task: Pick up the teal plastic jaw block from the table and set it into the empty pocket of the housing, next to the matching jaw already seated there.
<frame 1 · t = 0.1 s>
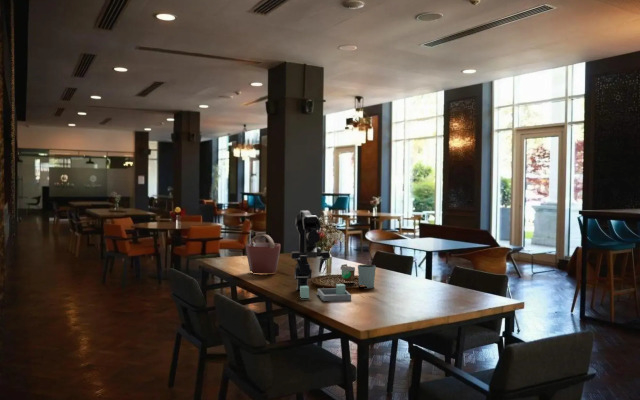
hand: (310, 272, 252), 14 cm above the table, tool pointing down, fingers open, 9 cm apart
jaw block: (304, 298, 259), on the table
housing: (333, 297, 261), on the table
food container: (345, 283, 300), on the table
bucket: (264, 273, 332), on the table
grey green cylinder: (366, 287, 288), on the table
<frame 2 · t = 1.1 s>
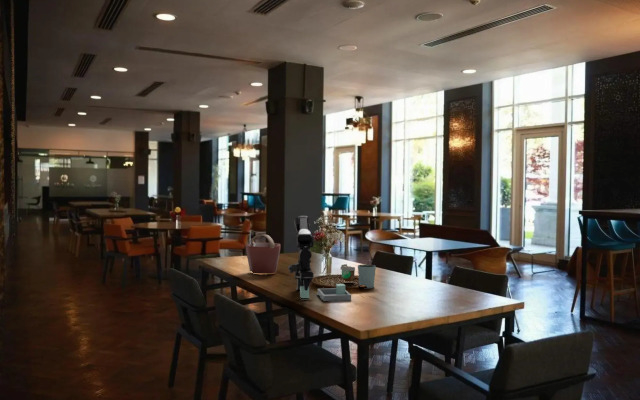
hand: (304, 288, 259), 5 cm above the table, tool pointing down, fingers open, 9 cm apart
nothing on the table moved.
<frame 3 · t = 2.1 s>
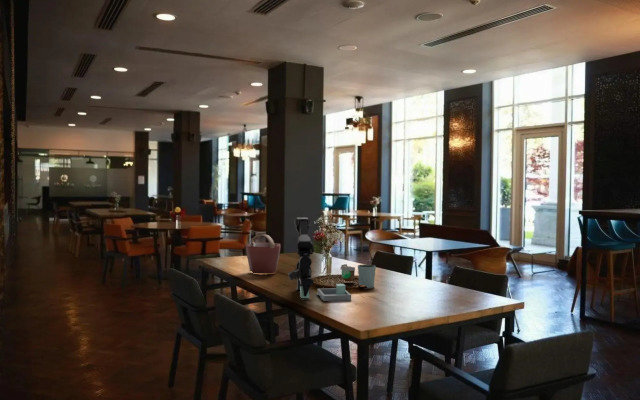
hand: (304, 295, 259), 2 cm above the table, tool pointing down, fingers closed on jaw block, 4 cm apart
jaw block: (304, 298, 259), on the table, touching gripper
everything else where it was.
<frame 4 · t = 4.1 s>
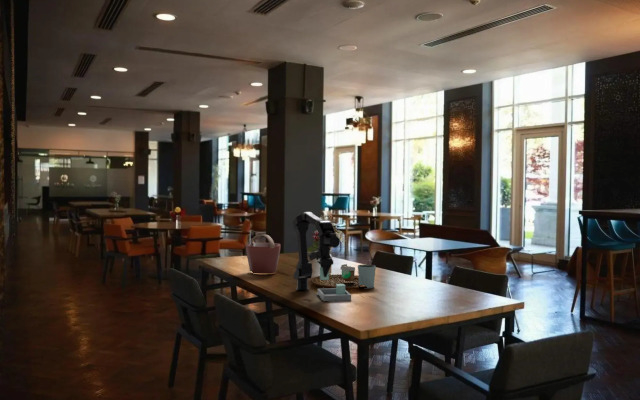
hand: (324, 276, 259), 11 cm above the table, tool pointing down, fingers closed on jaw block, 4 cm apart
jaw block: (324, 279, 259), point 10 cm above the table, touching gripper
everything else where it was.
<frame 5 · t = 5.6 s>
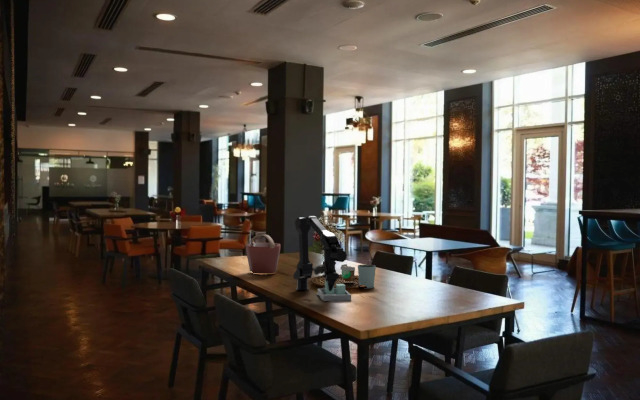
hand: (329, 290, 260), 4 cm above the table, tool pointing down, fingers closed on jaw block, 4 cm apart
jaw block: (329, 293, 260), point 2 cm above the table, touching gripper
everything else where it was.
when the fingers open (3 cm above the table, at t = 6.4 s): jaw block drops 1 cm, resting on housing.
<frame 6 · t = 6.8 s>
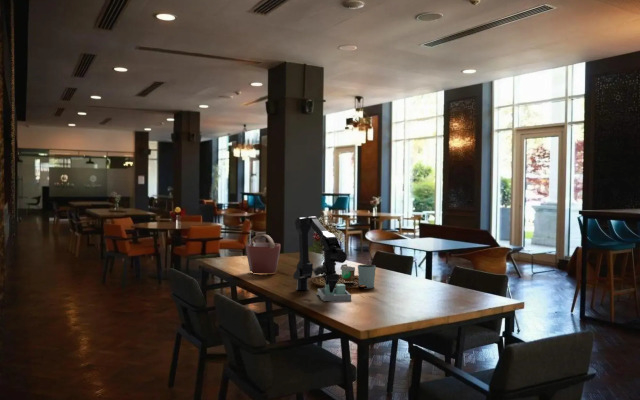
hand: (329, 290, 260), 3 cm above the table, tool pointing down, fingers open, 8 cm apart
jaw block: (329, 296, 260), point 1 cm above the table, touching housing
everything else where it was.
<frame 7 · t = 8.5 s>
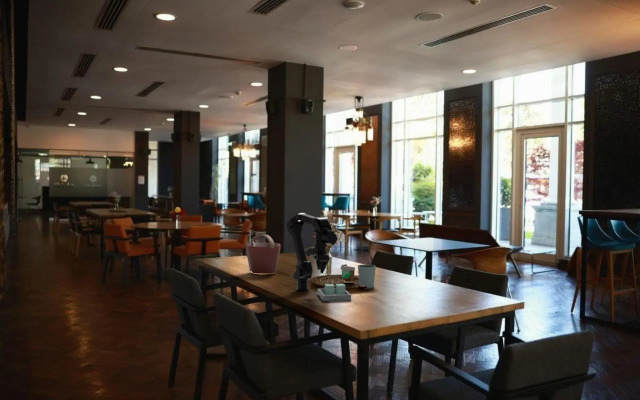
hand: (320, 271, 266), 12 cm above the table, tool pointing down, fingers open, 9 cm apart
nothing on the table moved.
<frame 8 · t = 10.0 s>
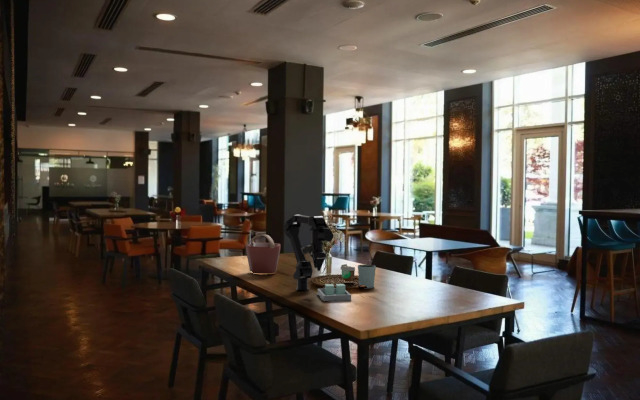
hand: (317, 269, 269), 13 cm above the table, tool pointing down, fingers open, 9 cm apart
nothing on the table moved.
at the end: jaw block 0.3 cm from the target spot on the housing, point 0.5 cm above the housing's base; jaw block tilted 0°; the gripper is holding nothing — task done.
